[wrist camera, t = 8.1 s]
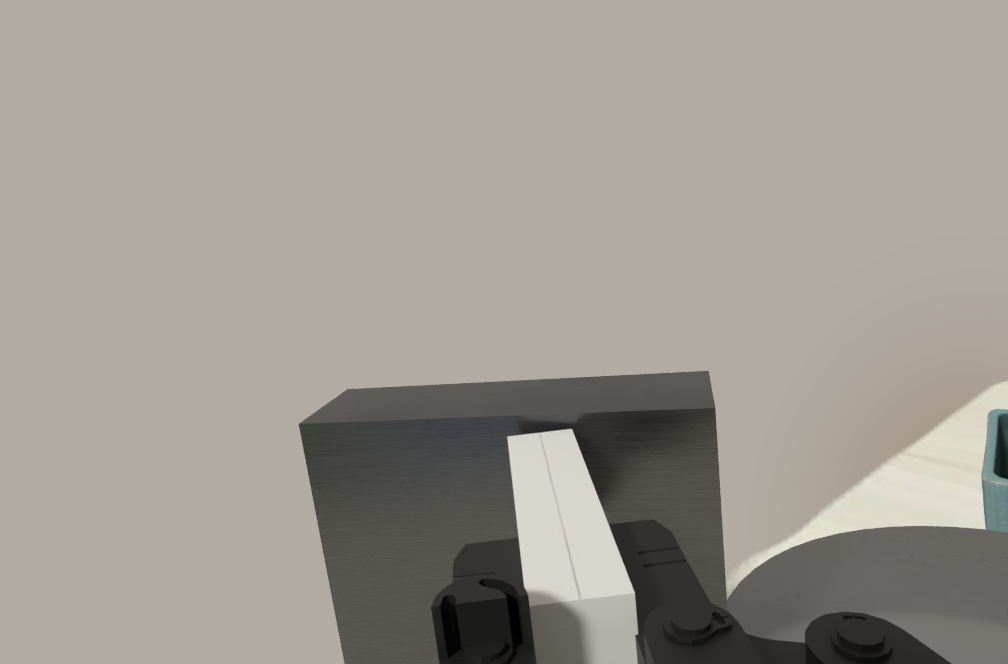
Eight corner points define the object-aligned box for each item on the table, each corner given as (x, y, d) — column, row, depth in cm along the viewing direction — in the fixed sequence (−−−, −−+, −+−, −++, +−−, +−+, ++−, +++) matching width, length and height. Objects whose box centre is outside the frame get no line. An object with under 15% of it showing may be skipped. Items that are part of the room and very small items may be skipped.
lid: (1170, 556, 21) (1193, 290, 20) (1932, 1160, 8) (2190, 540, 7) (443, 549, 27) (412, 343, 25) (238, 902, 14) (146, 532, 12)
